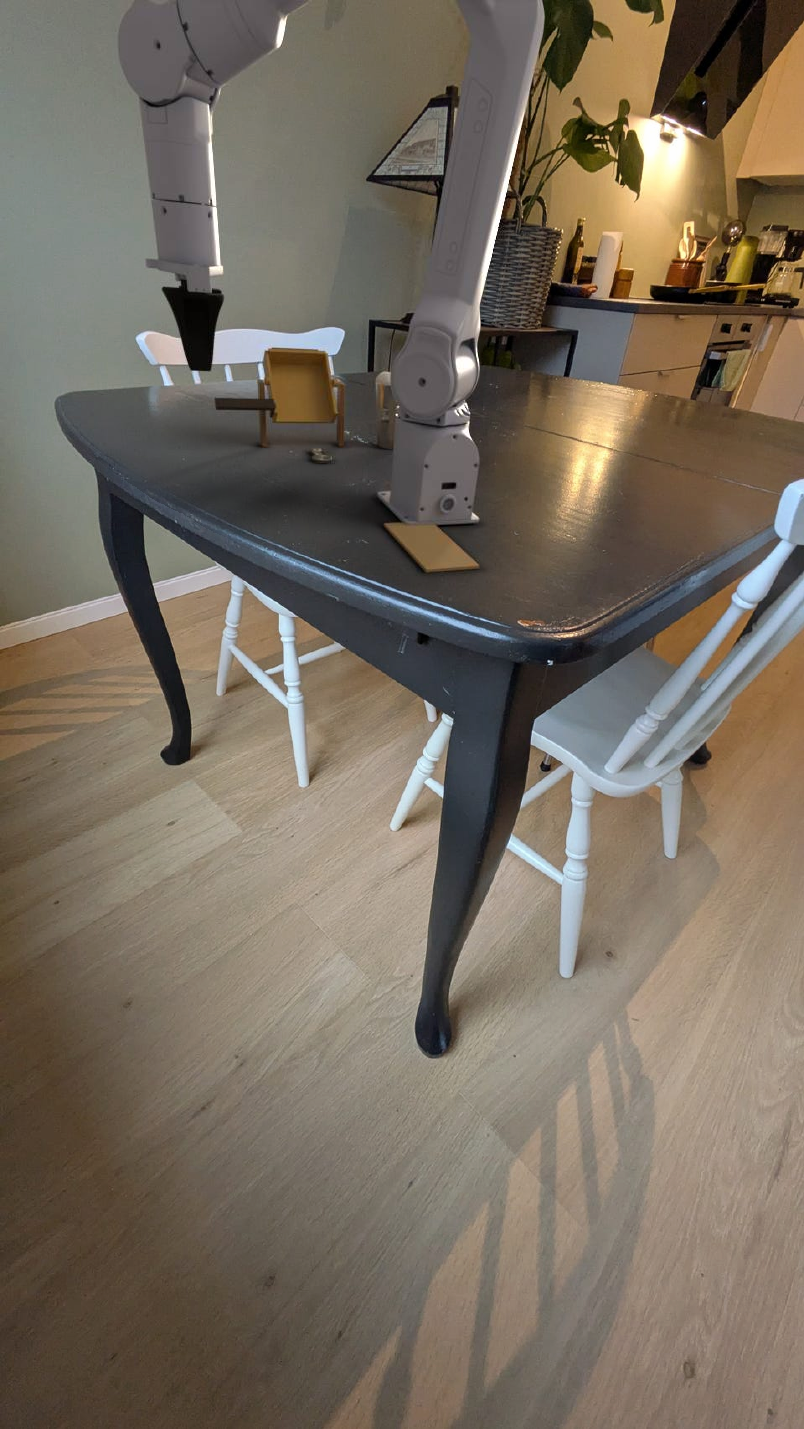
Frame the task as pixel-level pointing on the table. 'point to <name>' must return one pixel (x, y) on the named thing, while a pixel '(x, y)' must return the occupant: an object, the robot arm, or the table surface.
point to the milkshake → (385, 411)
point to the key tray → (293, 388)
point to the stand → (339, 416)
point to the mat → (431, 547)
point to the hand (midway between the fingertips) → (200, 370)
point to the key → (319, 456)
